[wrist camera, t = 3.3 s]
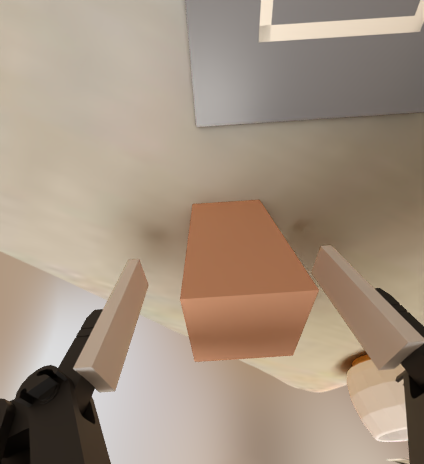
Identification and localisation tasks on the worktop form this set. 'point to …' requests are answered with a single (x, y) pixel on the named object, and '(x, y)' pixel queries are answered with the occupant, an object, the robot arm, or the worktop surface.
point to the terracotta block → (242, 284)
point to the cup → (378, 399)
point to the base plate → (304, 59)
